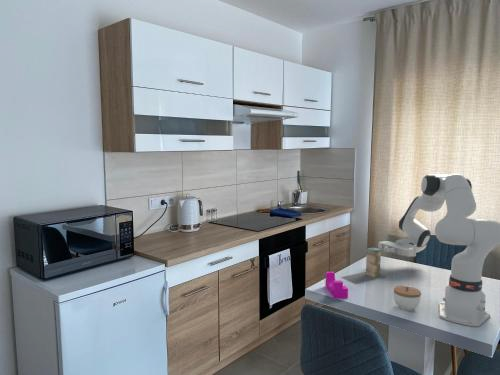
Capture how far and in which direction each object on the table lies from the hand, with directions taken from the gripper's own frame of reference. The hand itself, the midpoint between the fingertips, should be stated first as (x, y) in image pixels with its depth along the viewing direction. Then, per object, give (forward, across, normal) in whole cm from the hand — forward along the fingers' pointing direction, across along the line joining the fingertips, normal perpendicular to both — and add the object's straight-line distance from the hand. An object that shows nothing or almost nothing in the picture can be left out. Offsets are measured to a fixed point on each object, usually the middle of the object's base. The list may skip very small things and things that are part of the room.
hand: (385, 250), depth 205 cm
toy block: (+42, +8, +13) cm, 45 cm away
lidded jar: (+28, +36, +12) cm, 48 cm away
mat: (+16, 0, +13) cm, 21 cm away
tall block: (+9, 0, +12) cm, 15 cm away
